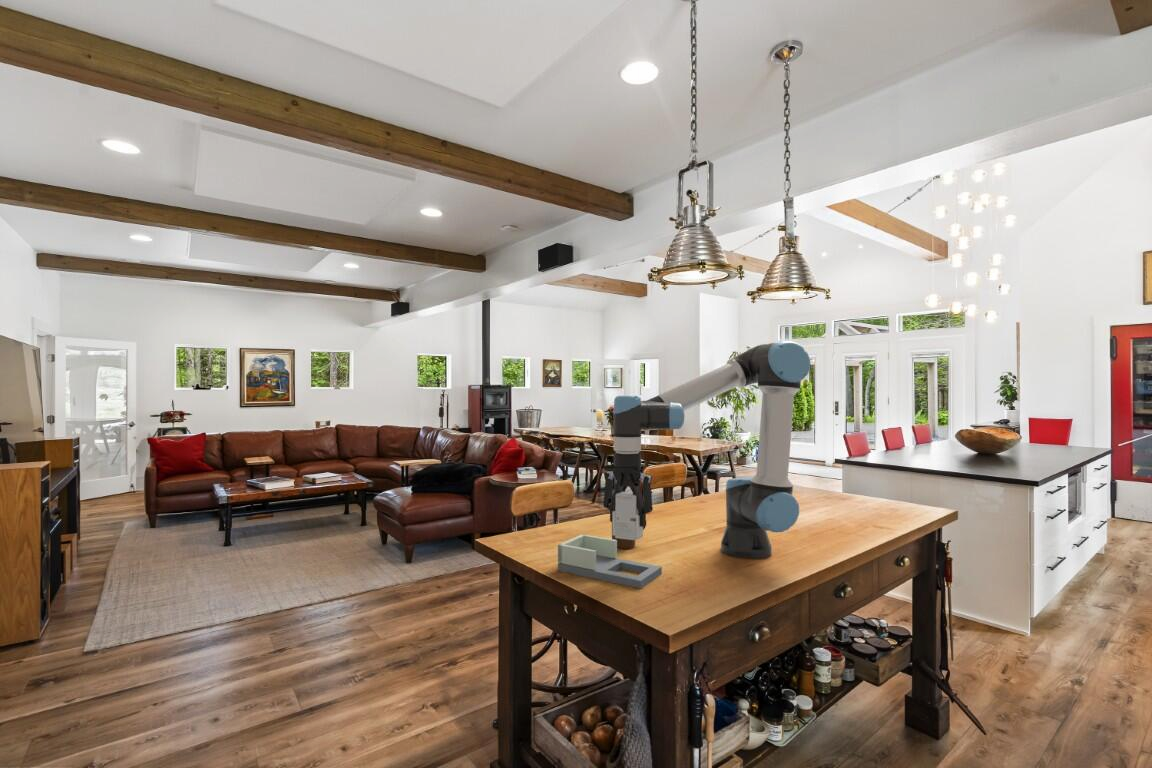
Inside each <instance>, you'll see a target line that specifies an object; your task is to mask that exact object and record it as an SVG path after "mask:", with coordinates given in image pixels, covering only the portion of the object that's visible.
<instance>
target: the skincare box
mask: <svg viewBox="0 0 1152 768" xmlns="http://www.w3.org/2000/svg"><path fill="white" fill-rule="evenodd" d="M637 514H638V509H637V506H636V495H633V493H632V491H631V492H629V491H622V492H620V493H617V494H616V505H615V538H620V539H629V540H635V541H637V539H636V515H637Z"/></svg>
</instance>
